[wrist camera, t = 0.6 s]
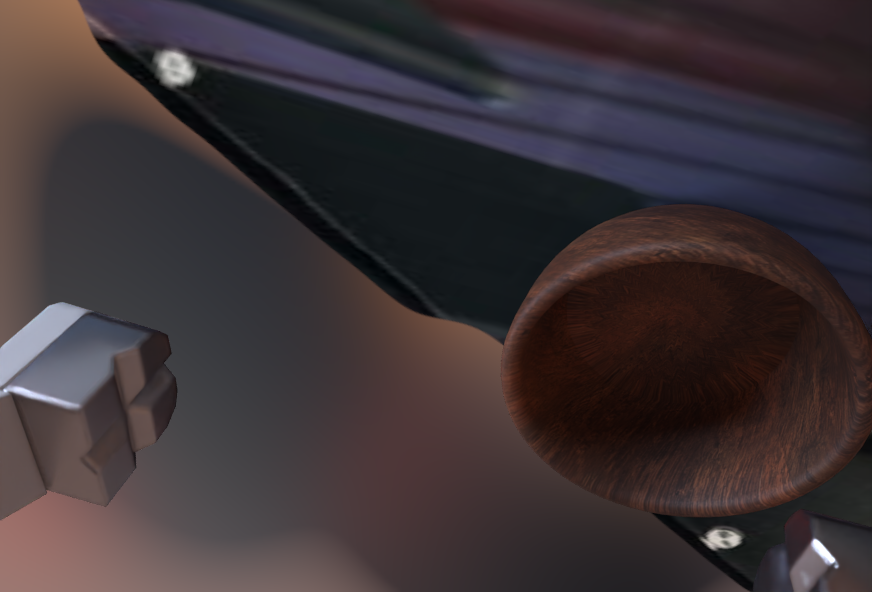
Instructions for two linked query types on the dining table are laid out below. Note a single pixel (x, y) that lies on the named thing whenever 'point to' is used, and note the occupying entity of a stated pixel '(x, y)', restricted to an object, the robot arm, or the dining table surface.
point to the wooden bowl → (689, 364)
